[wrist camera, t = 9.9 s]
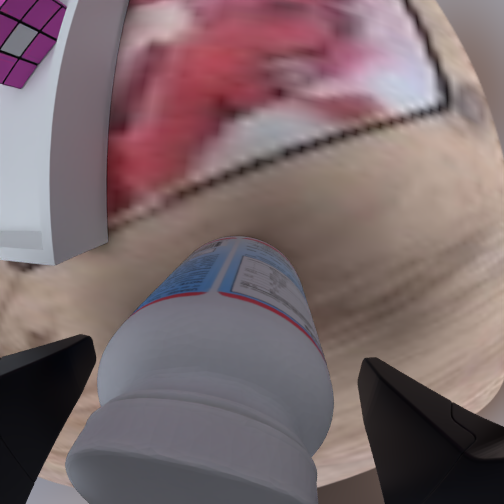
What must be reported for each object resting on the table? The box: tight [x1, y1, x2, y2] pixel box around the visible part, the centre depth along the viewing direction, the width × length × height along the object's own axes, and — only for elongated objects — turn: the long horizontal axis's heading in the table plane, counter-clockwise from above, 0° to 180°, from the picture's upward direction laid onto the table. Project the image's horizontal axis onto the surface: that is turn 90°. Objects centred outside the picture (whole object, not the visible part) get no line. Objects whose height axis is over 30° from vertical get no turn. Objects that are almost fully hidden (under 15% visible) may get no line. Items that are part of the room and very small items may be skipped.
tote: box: [0, 0, 129, 266], centre depth 10 cm, size 19×14×4 cm
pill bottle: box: [65, 236, 334, 504], centre depth 9 cm, size 6×6×11 cm
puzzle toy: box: [0, 0, 67, 89], centre depth 8 cm, size 6×6×6 cm
